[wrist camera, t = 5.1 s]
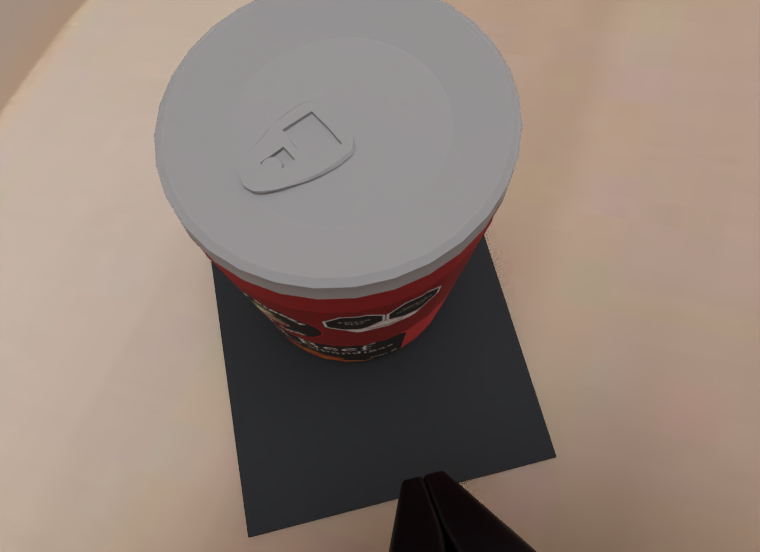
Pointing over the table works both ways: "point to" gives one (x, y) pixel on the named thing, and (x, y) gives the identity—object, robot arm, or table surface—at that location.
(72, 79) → the table surface
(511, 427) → the mat
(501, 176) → the canned food
